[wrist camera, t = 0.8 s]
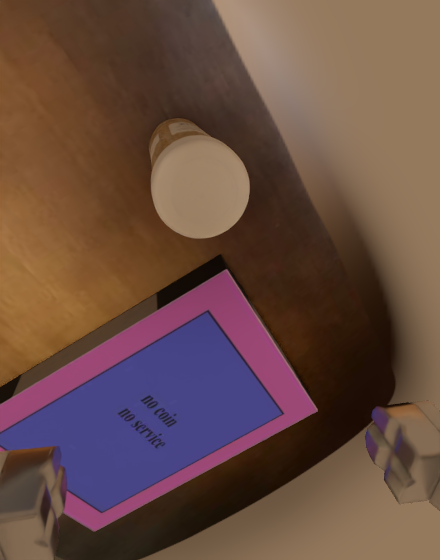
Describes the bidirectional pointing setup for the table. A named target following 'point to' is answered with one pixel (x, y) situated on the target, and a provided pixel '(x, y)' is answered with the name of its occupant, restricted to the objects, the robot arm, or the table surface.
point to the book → (156, 396)
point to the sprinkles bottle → (196, 180)
